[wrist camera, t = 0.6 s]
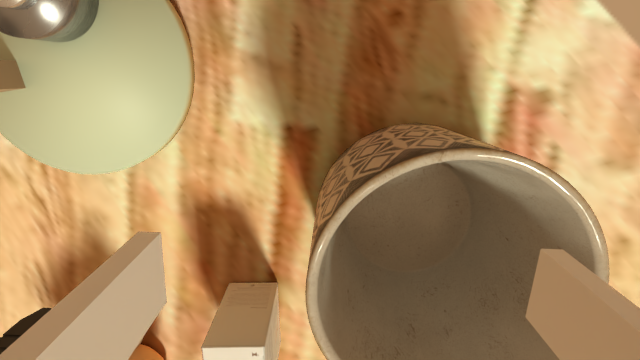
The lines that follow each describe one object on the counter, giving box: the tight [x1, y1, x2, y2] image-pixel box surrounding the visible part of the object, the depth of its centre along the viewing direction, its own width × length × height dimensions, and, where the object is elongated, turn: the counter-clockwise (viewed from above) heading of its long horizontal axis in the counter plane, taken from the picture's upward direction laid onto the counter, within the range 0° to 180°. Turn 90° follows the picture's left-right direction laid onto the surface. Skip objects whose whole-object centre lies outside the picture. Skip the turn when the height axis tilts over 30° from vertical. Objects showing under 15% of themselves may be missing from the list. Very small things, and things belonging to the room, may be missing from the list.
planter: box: [306, 124, 609, 360], centre depth 32 cm, size 19×19×16 cm
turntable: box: [0, 0, 195, 175], centre depth 32 cm, size 20×20×7 cm
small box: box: [201, 282, 281, 360], centre depth 39 cm, size 8×6×10 cm
